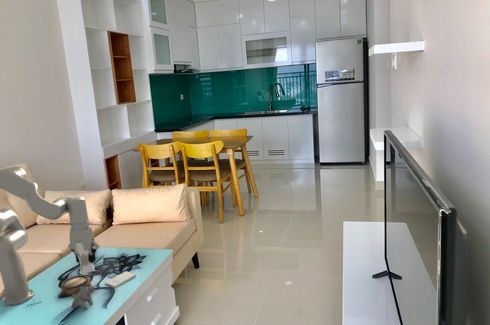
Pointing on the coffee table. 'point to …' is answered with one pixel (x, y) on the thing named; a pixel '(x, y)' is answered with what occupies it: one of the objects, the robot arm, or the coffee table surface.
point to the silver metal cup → (84, 258)
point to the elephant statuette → (83, 297)
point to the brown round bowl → (75, 284)
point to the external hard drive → (120, 279)
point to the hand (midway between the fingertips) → (86, 261)
